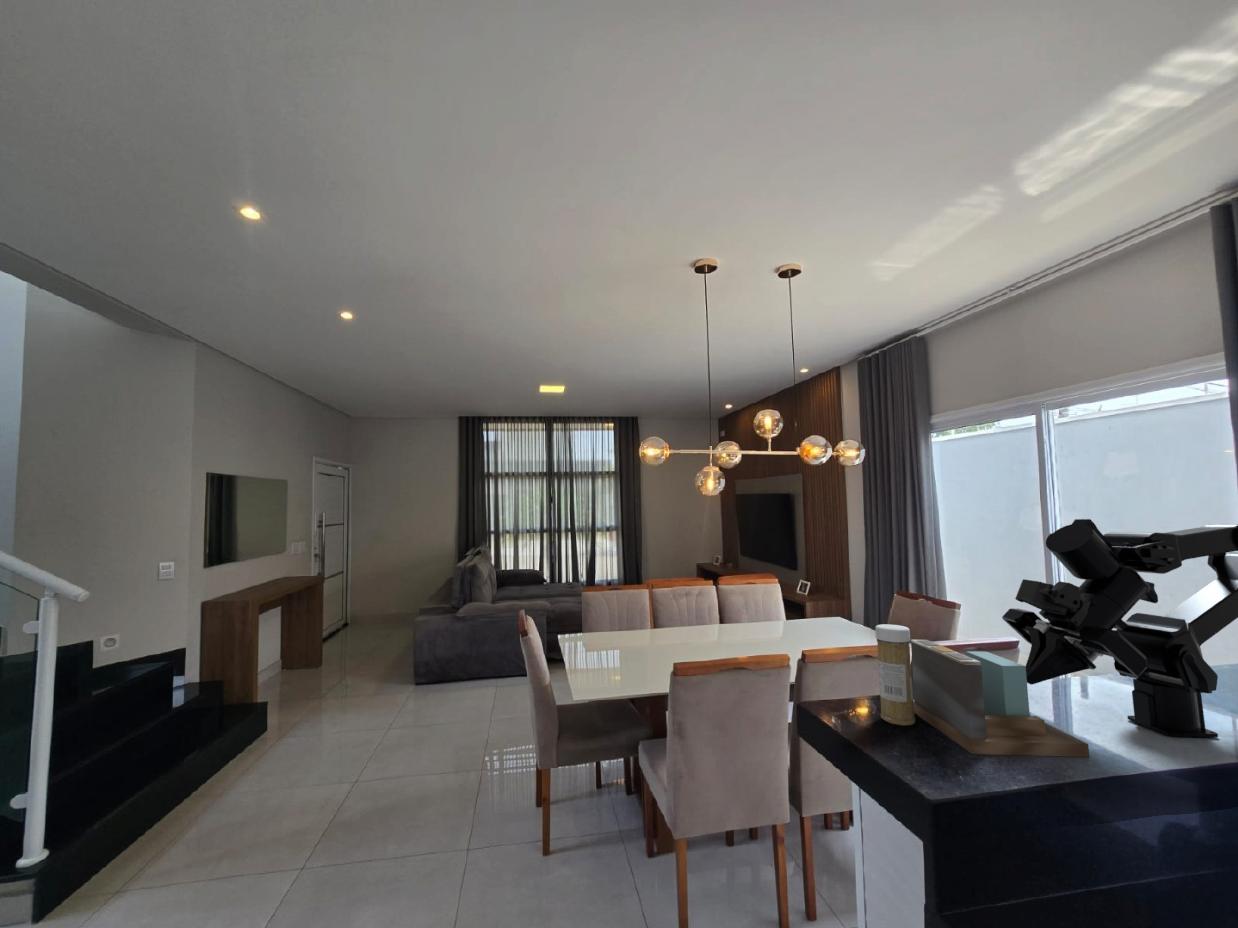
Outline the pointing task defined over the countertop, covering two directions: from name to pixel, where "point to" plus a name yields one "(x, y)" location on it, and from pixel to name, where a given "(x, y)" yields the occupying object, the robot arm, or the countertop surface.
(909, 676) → the sprinkles bottle
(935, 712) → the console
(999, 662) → the paddle button
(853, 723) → the countertop surface
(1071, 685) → the countertop surface
